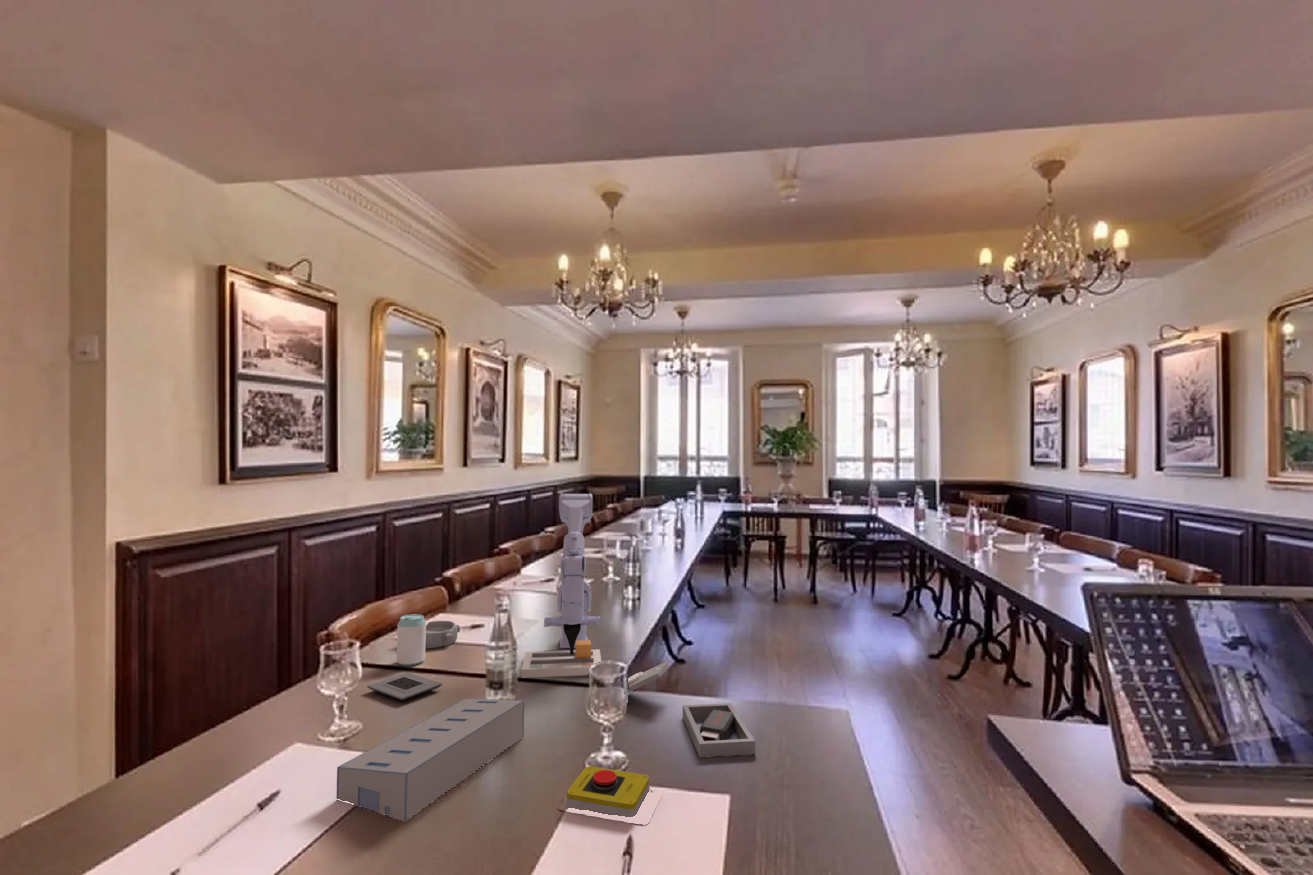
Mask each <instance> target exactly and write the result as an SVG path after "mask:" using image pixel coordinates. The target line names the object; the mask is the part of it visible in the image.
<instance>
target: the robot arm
mask: <svg viewBox="0 0 1313 875" xmlns="http://www.w3.org/2000/svg"><path fill="white" fill-rule="evenodd" d="M558 500H559V501H558V511H559V518H560V522H562V523H564V524H566V526H567V530H568V532H567V534H566V535H565V536H564V538H563V548H562V549H563V550H562V557H561V558H560V570H559V571H560V578H561V580H560V583H561V584H559V586H558V589H557V590H558V591H557V601H556V602H557V604H556V605H557V606H556V607H557V608H556V609H557V612H558V613H559V614H561V616H551V617H544V620H543V623H544V625H543V627H544V628H548V627H561V637H560V638H559V639H560V641H559V648H560V649H569V650H570V655H571V654H573V650H575V647H576V640H588V636H587V627H588V626H598V627H599V626H601V616H600V615H599V616H598V615H597V616H593V615H588V613H590V612H591V611H592V587H591V585H590V583H588V582H587V581H586V580H585V577H586V570H587V568H586V565H587V559H586V552H585V546H586V544H585V542H586V541H585V536H584V535H583V534H584V533H583V532H584V528H585V525H586V524H588V523H590V522H592V520H591V519H592V518H593V494H592V493H563V492H562V493H560V494H559V499H558Z"/></svg>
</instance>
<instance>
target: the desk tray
mask: <svg viewBox="0 0 1313 875" xmlns="http://www.w3.org/2000/svg"><path fill="white" fill-rule="evenodd" d="M712 710H721V711H727V712H733V713H734V714H733V715H734V729H733V730H735V732H736V734H737V735H738V738H736V739H727V740H716V741H704V740H703V738H702V736H701V734H700V728H699V727H698V725H697V723H696V722H695V720H697V719H706V718H707V716H708V715H709V714H710V712H711V711H712ZM736 710H737V709H735V707H734V706H733V704H732V702H731V703H730V702H726V703H704V704H685V705H684V704H683V705H682V719H683V721H684V724H685V726H686V729H687V731H688V734H689V736H690V739H691V741H692V743H693V745H694V748H695V750H696V752H698V753H697V756H698V757H700V758H701V757H707V758H714V757H713V756H724V757H735V756H734V755H741V756H752V754H755V755H756V740H755V738H754V736H753V734H751V732H750V731H749V728H748V727H747V726H746V724H745V722H744V721H743V720H742V717H740V715H739V713H738V712H737V711H736ZM732 755H733V756H732ZM708 756H709V757H708ZM700 758H699V759H700ZM701 759H702V758H701Z"/></svg>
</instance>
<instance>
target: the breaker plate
mask: <svg viewBox="0 0 1313 875" xmlns="http://www.w3.org/2000/svg"><path fill="white" fill-rule="evenodd" d="M598 662H601V663H602V657H601V649H598V648H597V649H591V658H575V649H573V654H571V655H570V649H569V650H568V649H567V650H545V651H544V650H542V651H541V650H539V651H538V650H537V651H525V653H524V658H523V662H522V666H521V668H520V673H521V674H520V678H521V679H525V678H527V679H529V678H550V677H551V678H552V677H555V678H556V677H572V676H573V677H576V676H579V677H580V676H589V675H588V671H589V668H590V667H591V665H592V664H595V663H598Z"/></svg>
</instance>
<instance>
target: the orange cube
mask: <svg viewBox="0 0 1313 875" xmlns="http://www.w3.org/2000/svg"><path fill="white" fill-rule="evenodd" d="M574 650H575V658H591V650H592V641H591V639H587V640H576V647H575V648H574Z"/></svg>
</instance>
